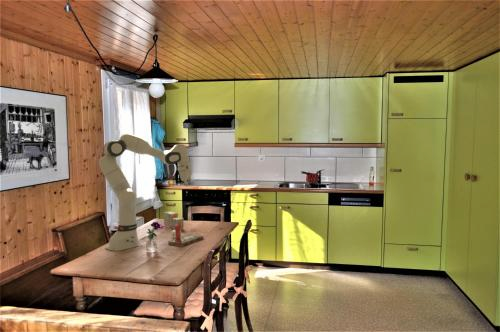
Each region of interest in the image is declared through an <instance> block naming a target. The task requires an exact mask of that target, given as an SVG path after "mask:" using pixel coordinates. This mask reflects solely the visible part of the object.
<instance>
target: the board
mask: <svg viewBox="0 0 500 332" xmlns="http://www.w3.org/2000/svg"><path fill="white" fill-rule="evenodd" d="M175 239H176V238H173V239H171V240H169V241H167V244H168V245H171V246H176V247H185V246H187V244H188V245H190V244H193V243H196V242H198V241H201V240H203V239H204V235H200V234H193V233H189V234H185V235H184V236H181V237H180V239H181V242H175Z"/></svg>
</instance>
